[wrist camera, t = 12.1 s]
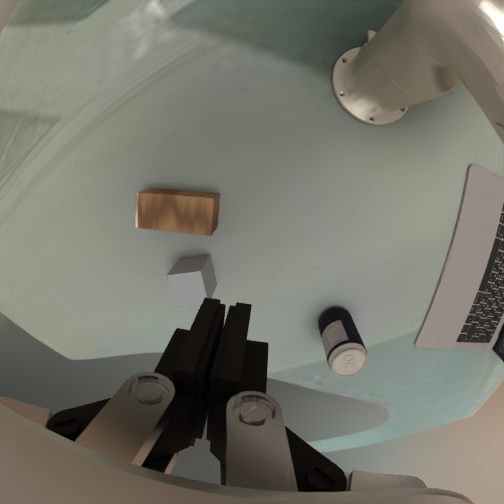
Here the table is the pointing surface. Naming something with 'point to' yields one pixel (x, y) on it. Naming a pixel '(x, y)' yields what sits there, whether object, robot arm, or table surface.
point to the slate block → (192, 281)
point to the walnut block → (177, 211)
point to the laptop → (471, 273)
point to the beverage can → (342, 343)
